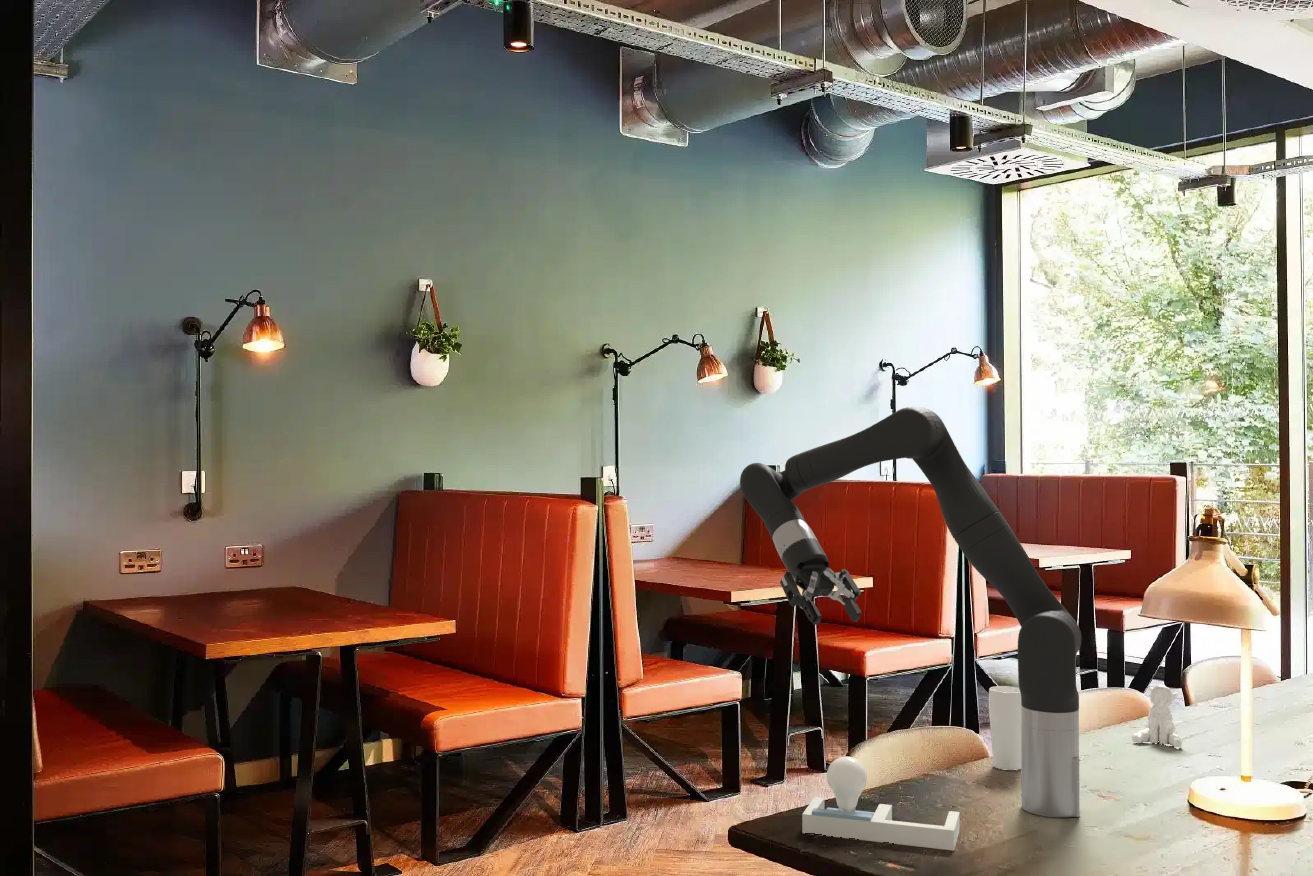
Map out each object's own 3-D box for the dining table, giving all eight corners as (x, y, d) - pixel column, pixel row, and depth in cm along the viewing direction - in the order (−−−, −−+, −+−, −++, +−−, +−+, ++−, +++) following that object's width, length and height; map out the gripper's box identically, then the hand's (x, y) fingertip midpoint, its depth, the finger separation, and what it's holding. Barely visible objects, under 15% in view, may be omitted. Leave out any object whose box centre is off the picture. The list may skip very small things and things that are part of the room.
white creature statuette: (1131, 744, 238) (1131, 686, 239) (1138, 735, 246) (1138, 679, 246) (1181, 750, 233) (1180, 691, 234) (1186, 741, 241) (1186, 684, 241)
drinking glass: (1027, 774, 215) (1027, 693, 215) (990, 771, 216) (990, 692, 217) (1023, 764, 222) (1023, 686, 222) (987, 762, 223) (987, 685, 223)
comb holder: (960, 829, 183) (960, 806, 183) (954, 850, 173) (954, 826, 173) (816, 813, 190) (816, 791, 190) (802, 833, 180) (802, 810, 180)
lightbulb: (842, 834, 180) (842, 764, 180) (818, 823, 185) (819, 754, 186) (875, 828, 183) (875, 759, 183) (850, 817, 188) (850, 750, 189)
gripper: (775, 537, 205) (814, 609, 195) (839, 535, 212) (879, 604, 202) (759, 565, 210) (795, 636, 199) (822, 562, 216) (860, 631, 206)
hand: (837, 620), depth 201 cm, fingers open, 8 cm apart
